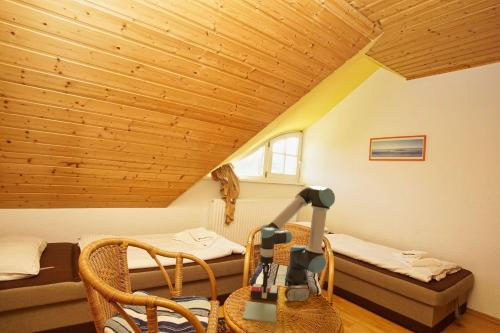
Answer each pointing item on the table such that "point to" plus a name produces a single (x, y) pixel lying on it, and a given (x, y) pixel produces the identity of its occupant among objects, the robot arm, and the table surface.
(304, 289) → the tin
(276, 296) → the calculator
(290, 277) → the robot arm
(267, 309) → the mat
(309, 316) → the table surface
